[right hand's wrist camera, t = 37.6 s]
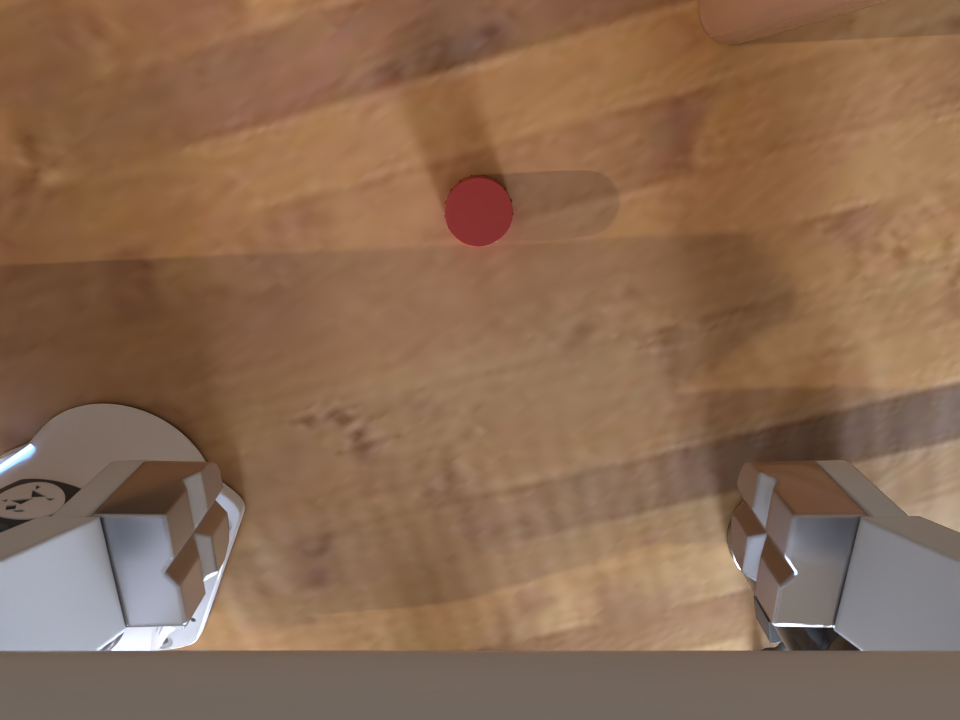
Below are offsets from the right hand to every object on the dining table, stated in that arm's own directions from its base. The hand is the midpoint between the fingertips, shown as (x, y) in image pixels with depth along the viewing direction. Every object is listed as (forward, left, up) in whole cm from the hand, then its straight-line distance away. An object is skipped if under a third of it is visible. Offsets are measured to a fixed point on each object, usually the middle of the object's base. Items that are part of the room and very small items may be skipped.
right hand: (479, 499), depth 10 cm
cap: (0, 0, -34) cm, 34 cm away
